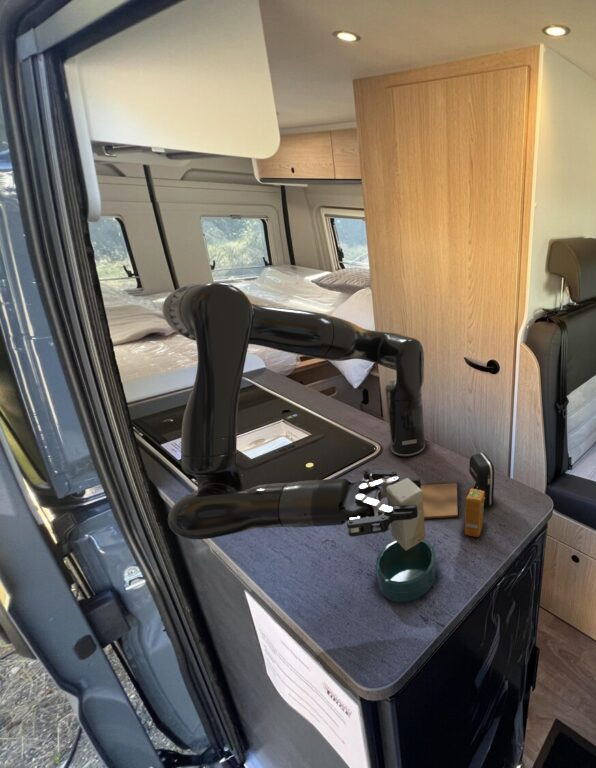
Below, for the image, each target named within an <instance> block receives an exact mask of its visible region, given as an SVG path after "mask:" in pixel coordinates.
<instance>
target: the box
mask: <svg viewBox="0 0 596 768" xmlns="http://www.w3.org/2000/svg"><path fill="white" fill-rule="evenodd" d="M405 478H406V479H404V480H401V481H399V482H397V483H395V484H393V485H388V486H387V488H386V490H387V497H386V498H387V506H390V507H392V508H393V509H394V506H405V505H416V506H417V508H418V516H417V517H416V518H414V519H411V520H396V521H393V522H392V523H390V531H391V536H392V537H393V539H394V541H395V540H396V541H397V542H398V543H399V544H400V545H401V546H402V547H403V548H404V549H405V550H408V549H410V548H411V547H413V546H415V545H416V544H418V543H419V542H421V541H423V540H425V539H426V525H425V524H426V523H425V519H424V510H423V497H422V490H421V489H420V488H419V487H418V486H417V485H415V484H414V483H413V482H412V481H411V480H410V479H409V478H410V477H405Z"/></svg>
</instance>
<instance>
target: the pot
mask: <svg viewBox="0 0 596 768" xmlns="http://www.w3.org/2000/svg"><path fill="white" fill-rule="evenodd" d="M375 572H376V578H377V579H376V580H377V585H378V589H379V592H380V593H381V594H382V596H383V597H384V598H386V599H387V600H389V601H392V602H395V603H407V602H412V601H415V600H417V599H419V598H421V597H423V596H424V595H425V594H426V593H427V592H428V591H430V589H431V588H432V586H433V585H434V583H435V580H436V577H437V562H436V552H435V549H434V546H433V545H432V544H431V543H430V542H429V541H427V540H425V539H424V540H423V541H421V542H419V543H418V544H416V545H415V546H413V547H411V548H410V549H408V550H405V549H404V548H403V547H402V546H401V545H400V544H399V543H398V542H397V541H396V540H395V539H394V540H393V541H391V542H390V543H388V544H387V545H385V547H383V549H382V550H381V551H380V552H379V554H378V555H377V557H376V561H375Z"/></svg>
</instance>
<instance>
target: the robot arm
mask: <svg viewBox="0 0 596 768" xmlns="http://www.w3.org/2000/svg"><path fill="white" fill-rule="evenodd" d="M162 314H163V318H164V320H165V321H166V323H167V325H168V326H169V327H170V328H171V329H172V330H173V331H175V332H176V333H178V334H179V335H180V336H182V337H184V338H187V339H188V340H191V341H193V342H194V341H195V343H196V349H197V367H196V368H197V369H196V374H195V377H194V378H195V379H194V383H193V387H192V390H191V391H190V395H189V398H188V400H187V403H186V405H185V406H186V407H185V408H184V412H183V416H182V423H181V433H180V437H181V438H180V464H181V469H182V471H183V472H184V473H186V474H187V475H190V476H195V478H196V483H197V489H196V490H195V491H193V492H190V493H189V494H187V495H185V496H183V497H181V498H180V499H179V500H177V501H176V502H175V503H174V504H173V506H172V507H171V509H170V510H169V512H168V516H167V523H168V527H169V529H170V530H171V531H172V532H173V533H174V534H175V535H177V536H178V537H181V538H184V539H188V540H207V539H213V538H220V537H224V536H229V535H234V534H238V533H242V532H246V531H249V530H256V529H277V528H297V529H298V528H315V527H330V526H343V525H345V524H346V528H347V534H348V537H350V538H352V537H359V536H366V535H372V534H380V533H386V532H388V530H389V526H391V523H392V522H393V521H396V520H411V519H414V518H416V517H417V516H418V508H417V506H416V505H405V506H394V509H393V508H392V507H390V506H388V504H383V502H382V499H385V498H387V490H386V488H387V487H388V486H391V485H393V484H395V483H397V482H399V481H401V480H404V479H406V478H407V477H399V476H398V474H397V470H395V469H365V470H362V474H363V477H362V479H361V480H359V481H356V482H350V481H349V480H348V479H347V478H328V479H307V480H299V481H292V482H279V483H276V482H275V483H263V484H259V485H255V486H253V487H250V488H248V489H245V490H244V484H243V480H242V476H241V471H240V467H239V465H238V462H237V449H238V443H237V441H238V414H239V413H238V411H239V402H240V395H241V387H242V381H243V376H244V371H245V369H244V368H245V365H246V359H247V353H248V349H249V346H250V345H253V346H260V347H264V348H269V349H273V350H277V351H280V352H284V353H288V354H293V355H297V356H302V357H308V358H312V359H319V360H326V361H331V362H334V361H335V362H344V361H350V360H361V361H367V362H371V363H374V364H377V365H380V366H382V367H384V368H388V369H390V370H394V371H395V373H396V375H395V378H394V379H392V380H389V382H387V383H386V385H385V395H386V396H385V397H386V406H387V407H386V408H387V418H388V428H389V437H390V439H389V440H390V450H391V453H392V454H393V455H395V456H398V457H402V458H403V457H404V458H409V457H414V456H417V455H419V454H421V453H422V452H423V451H424V450H425V448H426V441H425V423H424V406H423V386H424V381H425V352H424V347H423V344H422V342H421V341H420V340H419V339H417V338H415V337H412V336H408V335H404V334H401V333H397V332H389V331H378V330H371V329H366V328H363V327H361V326H359V325H357V324H355V323H354V322H351V321H349V320H347V319H343V318H340V317H337V316H333V315H330V314H326V313H322V312H317V311H311V310H304V309H296V308H295V309H294V308H284V307H283V308H282V307H271V306H264V305H260V304H256V303H252V301H251V300H250V298H249V297H248V295H246V294H245V292H244V291H243V290H241V289H240V288H239V287H237V286H235V285H233V284H230V283H226V282H221V281H219V282H218V281H214V282H201V283H192V284H187V285H184V286H182V287H179V288H177V289H175V290H174V291H172V292H170V293H169V294H168V295H167V296H166V297H165V299H164V301H163V304H162ZM386 477H389V478H386ZM408 478H409V479H410V480H411V481H412V482H413V483H414V484H415V485H417V486H418V487H419V488H421V485H422V483H421V480H422V479H421V478H420V477H408Z"/></svg>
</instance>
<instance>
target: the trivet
mask: <svg viewBox="0 0 596 768" xmlns="http://www.w3.org/2000/svg"><path fill="white" fill-rule="evenodd" d="M420 489H421V490H422V497H423V510H424V520H429V519H445V518H457V517H459V514H458V513H459V511H458V483H457V482H454V483H453V482H451V483H436V484H435V483H433V484H421V488H420Z"/></svg>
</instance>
